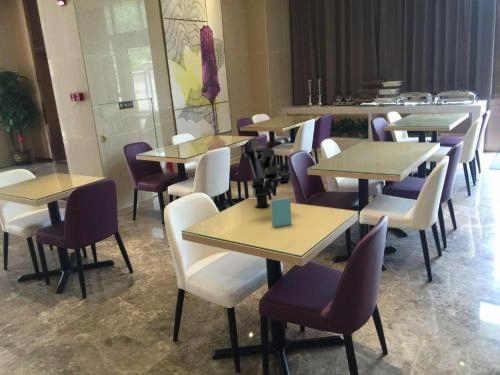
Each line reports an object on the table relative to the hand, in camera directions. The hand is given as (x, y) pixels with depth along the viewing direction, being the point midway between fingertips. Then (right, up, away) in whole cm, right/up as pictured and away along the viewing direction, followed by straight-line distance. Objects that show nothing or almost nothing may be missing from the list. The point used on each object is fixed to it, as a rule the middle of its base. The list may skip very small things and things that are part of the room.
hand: (275, 195), depth 205 cm
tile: (+3, -14, -4) cm, 15 cm away
